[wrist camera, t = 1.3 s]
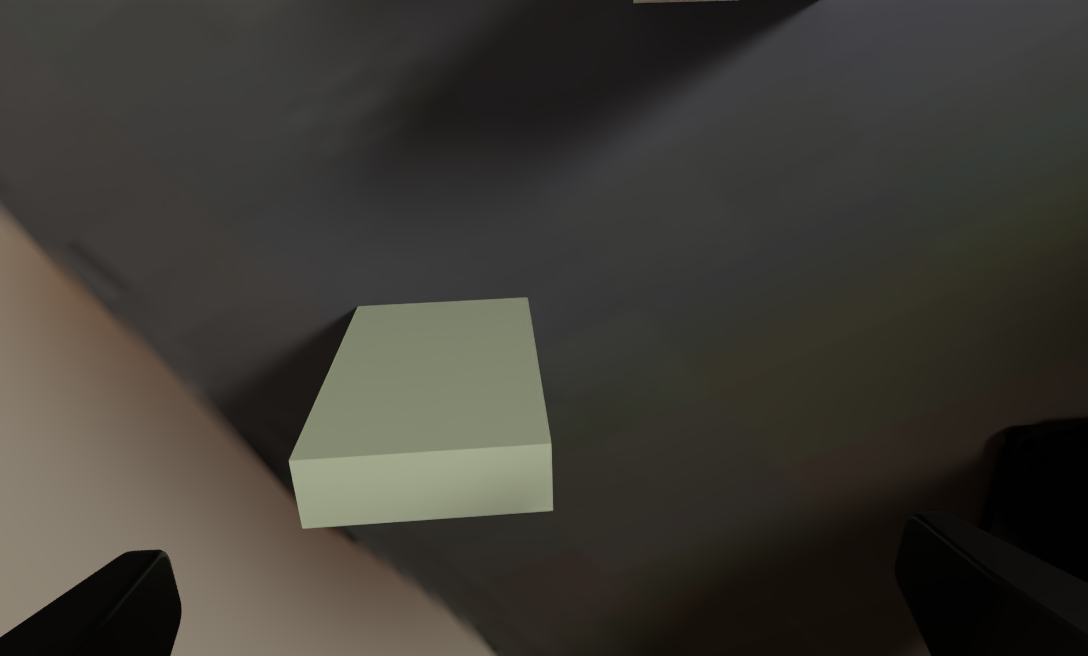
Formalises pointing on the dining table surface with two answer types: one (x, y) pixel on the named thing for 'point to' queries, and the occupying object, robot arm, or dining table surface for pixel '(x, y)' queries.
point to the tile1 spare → (427, 418)
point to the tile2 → (660, 0)
